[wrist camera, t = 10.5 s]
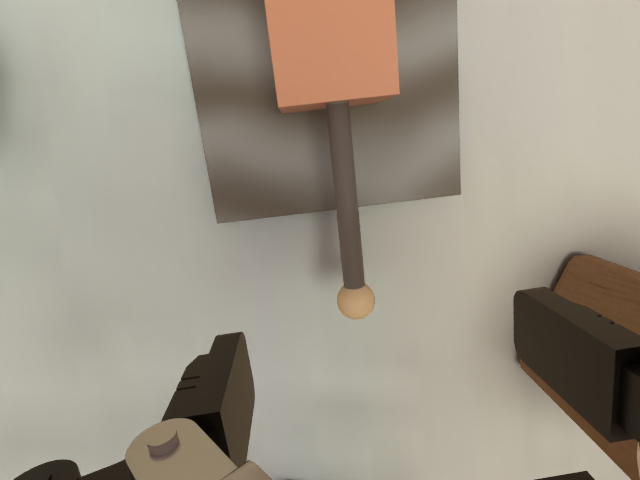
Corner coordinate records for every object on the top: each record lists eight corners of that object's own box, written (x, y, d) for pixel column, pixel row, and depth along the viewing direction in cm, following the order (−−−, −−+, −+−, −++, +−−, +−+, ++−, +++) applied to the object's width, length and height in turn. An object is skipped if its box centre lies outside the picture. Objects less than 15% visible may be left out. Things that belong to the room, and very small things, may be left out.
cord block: (267, 4, 23) (259, -34, 18) (371, -7, 23) (392, -47, 18) (305, 297, 27) (307, 332, 22) (391, 286, 27) (412, 319, 22)
